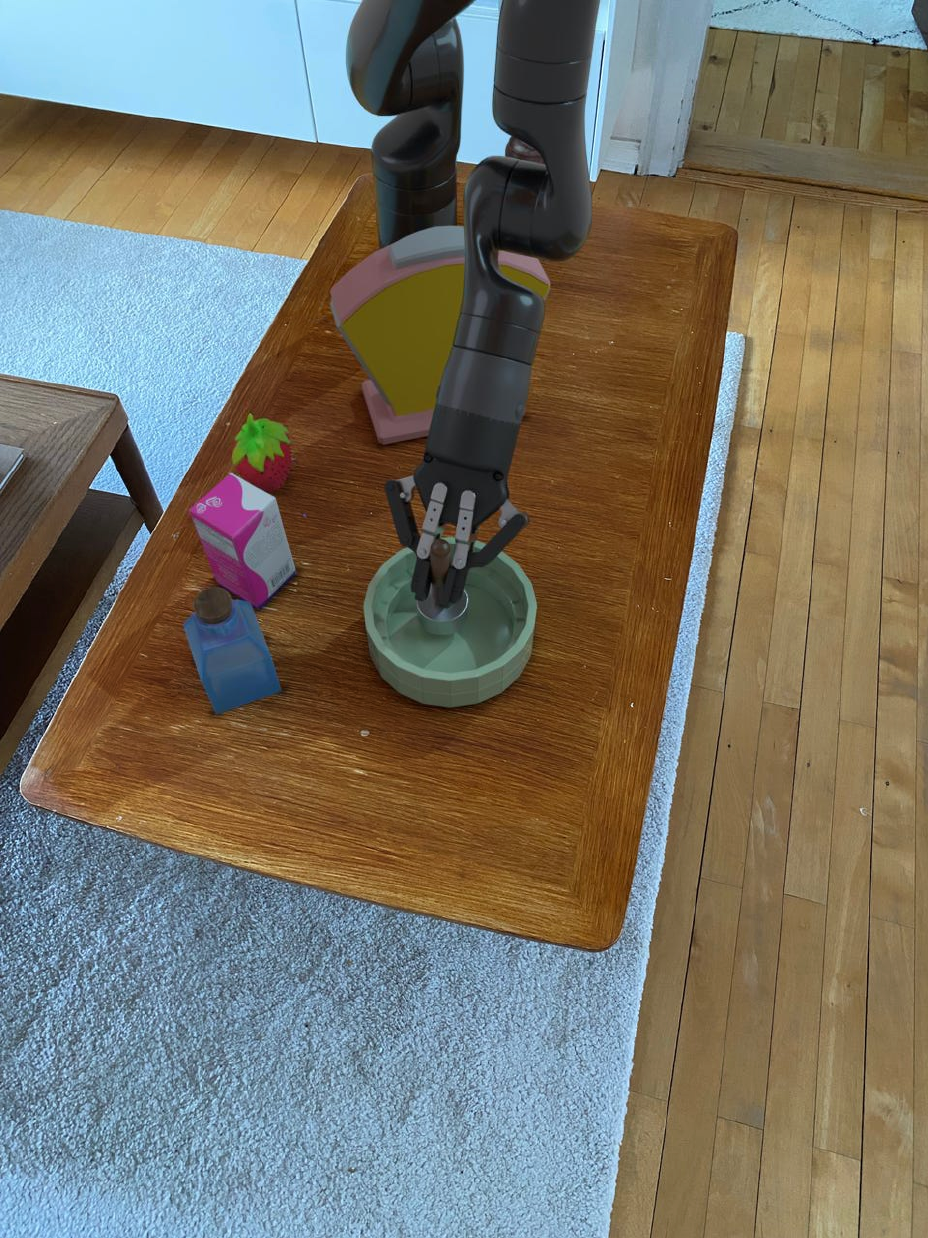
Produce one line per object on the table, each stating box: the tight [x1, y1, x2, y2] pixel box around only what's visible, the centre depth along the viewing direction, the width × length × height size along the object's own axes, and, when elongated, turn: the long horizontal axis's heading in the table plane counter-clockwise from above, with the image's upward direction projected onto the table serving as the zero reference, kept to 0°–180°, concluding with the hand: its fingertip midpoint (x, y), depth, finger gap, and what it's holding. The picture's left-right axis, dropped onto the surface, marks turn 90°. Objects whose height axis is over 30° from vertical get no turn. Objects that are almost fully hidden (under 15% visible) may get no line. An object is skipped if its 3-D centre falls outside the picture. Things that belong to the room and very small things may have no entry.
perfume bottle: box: [182, 586, 282, 716], centre depth 85 cm, size 6×6×12 cm
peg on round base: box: [416, 539, 468, 635], centre depth 87 cm, size 5×5×11 cm
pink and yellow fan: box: [329, 225, 551, 446], centre depth 101 cm, size 22×9×22 cm, turn 106°
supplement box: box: [188, 472, 297, 611], centre depth 92 cm, size 6×6×12 cm
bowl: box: [362, 536, 538, 708], centre depth 90 cm, size 16×16×6 cm
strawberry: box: [230, 413, 292, 492], centre depth 99 cm, size 6×7×10 cm
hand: (433, 602), depth 87 cm, fingers closed on peg on round base
